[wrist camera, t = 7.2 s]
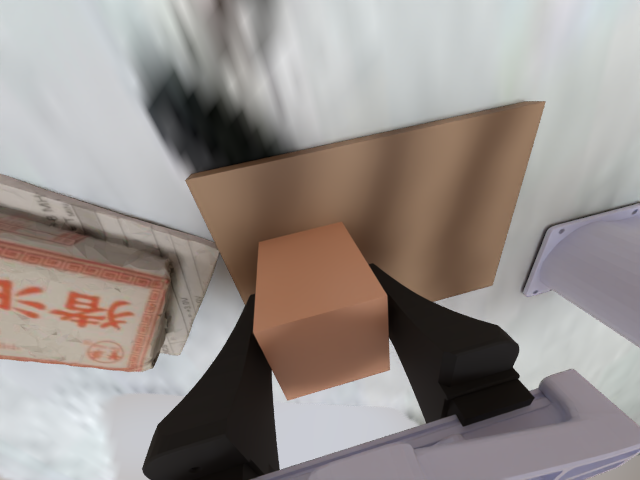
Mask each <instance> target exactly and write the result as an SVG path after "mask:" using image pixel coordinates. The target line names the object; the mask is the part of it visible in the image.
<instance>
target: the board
mask: <svg viewBox="0 0 640 480" xmlns="http://www.w3.org/2000/svg"><path fill="white" fill-rule="evenodd" d="M545 102H546V101H526V102H521V103H517V104H512V105H507V106H503V107H498V108H494V109H489V110H484V111H480V112H475V113H471V114H466V115H461V116H457V117H452V118H448V119H443V120H438V121H434V122H429V123H425V124H420V125H415V126H411V127H406V128H402V129H397V130H392V131H388V132H383V133H379V134H374V135H369V136H365V137H360V138H355V139H351V140H346V141H342V142H337V143H332V144H328V145H323V146H319V147H314V148H309V149H305V150H300V151H296V152H291V153H286V154H282V155H277V156H273V157H268V158H263V159H259V160H254V161H250V162H245V163H240V164H236V165H231V166H227V167H222V168H217V169H213V170H208V171H204V172H199V173H194V174H191V175H190V176H189V177H188V178H187V179H186V180H185V181H186V183H187V185H188V187H189V189H190V191H191V194H192V196H193V198H194V200H195V202H196V204H197V206H198V208H199V210H200V212H201V214H202V216H203V219H204V221H205V223H206V225H207V227H208V229H209V231H210V233H211V235H212V237H213V239H214V241H215V244H216V246H217V248H218V250H219V252H220V254H221V256H222V258H223V260H224V262H225V264H226V266H227V269H228V271H229V273H230V275H231V277H232V279H233V281H234V283H235V285H236V287H237V289H238V291H239V294H240V296H241V298H242V300H243V302H244V304H245V305H246V303H247V301H248V298H249V296H250V295H252V294H256V278H257V263H258V247H259V242H261V241H265V240H269V239H273V238H277V237H281V236H285V235H289V234H293V233H297V232H301V231H306V230H310V229H314V228H318V227H322V226H326V225H330V224H334V223H338V222H342V223H343V224H344V226H345V228H346V229H347V231H348V232H349V234H350V236H351V237H352V239H353V241H354V242H355V244H356V245H357V247H358V249H359V250H360V252H361V254H362V255H363V257H364V258H365V260H366V262H367V263H368V264H372V263H374V264H375V265H376V266H378V267H379V268H380V269H382V270H383V271H384V272H385V273H387V274H388V275H389V276H391V277H392V278H394V279H395V280H396V281H398V282H399V283H401V284H402V285H404V286H405V287H407V288H408V289H410V290H412V291H413V292H415V293H417V294H418V295H420V296H422V297H424V298H426V299H428V300H430V301H432V302H434V301H438V300H441V299H445V298H448V297H452V296H456V295H459V294H463V293H467V292H470V291H474V290H477V289H481V288H485V287H488V286H492V285H493V282H494V278H495V275H496V271H497V268H498V264H499V261H500V257H501V254H502V251H503V247H504V244H505V240H506V237H507V233H508V230H509V226H510V223H511V219H512V216H513V213H514V209H515V206H516V202H517V199H518V195H519V192H520V188H521V185H522V181H523V178H524V175H525V171H526V168H527V164H528V161H529V157H530V154H531V150H532V147H533V143H534V140H535V137H536V133H537V130H538V126H539V123H540V119H541V116H542V112H543V109H544V105H545Z"/></svg>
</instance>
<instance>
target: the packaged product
mask: <svg viewBox="0 0 640 480" xmlns="http://www.w3.org/2000/svg"><path fill="white" fill-rule="evenodd" d="M218 255H219V250H218V248H217V246H216V244H215V242H212V241H209V240H206V239H203V238H200V237H197V236H194V235H191V234H187V233H183V232H180V231H176V230H172V229H169V228H165V227H162V226H158V225H154V224H151V223H148V222H145V221H141V220H138V219H135V218H131V217H128V216H125V215H122V214H119V213H116V212H113V211H110V210H107V209H104V208H101V207H98V206H95V205H92V204H89V203H86V202H82V201H79V200H76V199H73V198H70V197H67V196H64V195H61V194H58V193H54V192H51V191H48V190H45V189H42V188H39V187H36V186H34V185H31V184H28V183H25V182H23V181H20V180H17V179H14V178H11V177H9V176H5V175H2V174H0V359H10V360H17V361H34V362H40V363H50V364H66V365H70V366H78V367H93V368H99V369H107V370H119V371H126V372H134V371H137V372H143V371H146V370H148V369H152V368H153V367H154V365H155V363H156V361H157V358H158V356H159V353H164V354H170V355H176V356H178V355H180V354H181V352H182V349H183V347H184V345H185V343H186V340H187V338H188V336H189V333H190V330H191V327H192V324H193V321H194V318H195V316H196V314H197V312H198V309H199V307H200V305H201V303H202V300H203V298H204V295H205V293H206V290H207V288H208V285H209V283H210V280H211V277H212V275H213V272H214V269H215V265H216V262H217V258H218Z"/></svg>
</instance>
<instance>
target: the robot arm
mask: <svg viewBox="0 0 640 480" xmlns="http://www.w3.org/2000/svg"><path fill="white" fill-rule="evenodd" d="M368 265H369V267H370V268H371V270H372V271H373V273H374V275H375V276H376V278H377V280H378V281H379V283H380V284H381V286H382V288H383V289H384V291H385V292H386V294H387V299H388V330H389V338H390V340H391V342H392V344H393V345H394V347H395V350H396V352H397V354H398V356H399V359H400V361H401V363H402V365H403V368H404V370H405V372H406V375H407V377H408V379H409V382H410V384H411V386H412V389H413V391H414V394H415V396H416V398H417V401H418V403H419V406H420V408H421V411H422V413H423V416H424V418H425V421H426V424H423V425H420V426H417V427H414V428H411V429H408V430H404V431H402V432H399V433H395V434H392V435H389V436H385V437H382V438H380V439H376V440H373V441H370V442H366V443H363V444H360V445H357V446H354V447H351V448H348V449H345V450H341V451H338V452H335V453H332V454H329V455H326V456H322V457H319V458H316V459H313V460H310V461H306V462H303V463H300V464H297V465H294V466H291V467H288V468H285V469H281V470H280V469H279V461H278V452H277V442H276V432H275V420H274V407H273V393H272V369H271V367H270V365H269V363H268V361H267V359H266V357H265V355H264V353H263V351H262V349H261V347H260V345H259V343H258V341H257V339H256V337H255V335H254V333H253V325H254V309H255V294H252V295H250V296H249V298H248V301H247V303H246V305H245V307H244V310H243V312H242V314H241V316H240V318H239V320H238V322H237V324H236V326H235V328H234V330H233V331H232V333H231V335H230V337H229V338H228V340H227V342H226V343H225V345H224V347H223V348H222V350H221V351H220V353H219V354H218V356H217V357H216V359H215V360H214V362H213V363H212V364H211V366H210V367H209V368H208V370H207V371H206V372H205V374H204V375H203V376H202V378H201V379H200V380H199V381H198V383H197V384H196V385H195V386H194V387H193V388H192V390H191V391H190V392H189V393H188V394H187V395H186V396H185V397H184V399H183V400H182V401H181V402H180V403H179V404H178V405H177V406H176V407H175V408H174V409H173V410H172V411H171V412H170V413H169V414H168V415H167V416H166V417H165V418H164V419H163V420H162V421H161V422H160V423H159V424H158V426H157V428H156V430H155V433H154V435H153V438H152V441H151V444H150V447H149V450H148V453H147V456H146V459H145V462H144V465H143V468H142V470H143V473H144V475H145V476H146V477H147V478H149V479H150V480H585V479H588V478H591V477H593V476H596V475H599V474H601V473H604V472H607V471H610V470H612V469H615V468H618V467H619V466H621V465H622V464H624V463H625V462H627V461H628V460H630V459H631V458H633V457H634V456H636V455H637V454H639V453H640V426H639V425H637V424H636V423H635V422H634V421H633V420H632V419H631V418H629V417H628V416H627V415H626V414H625V413H624V412H623V411H621V410H620V409H619V408H618V407H617V406H616V405H615V404H613V403H612V402H611V401H610V400H609V399H608V398H607V397H605V396H604V395H603V394H602V393H601V392H600V391H598V390H597V389H596V388H595V387H594V386H593V385H592V384H590V383H589V382H588V381H587V380H586V379H585V378H584V377H582V376H581V375H580V374H579V373H578V372H577V371H576V370H574V369H569V370H566V371H563V372H560V373H556V374H553V375H550V376H548V377H546V378H544V379H543V380H542V381H541V382H540V384H539V388H537V389H534V390H531V391H528V389H527V388H526V387H525V386H524V385H523V384H522V383H521V382H520V381H519V380H518V378H519V377H520V376H519V374H518V373H517V372H516V371H515V370H514V368H513V365H514V363H515V361H516V359H517V356H518V354H519V345H518V344H517V343H516V342H515V341H514V340H513V339H512V338H511V337H510V336H509V335H508V334H507V333H506V332H505V331H504V330H503V329H501V328H500V327H499V326H498V325H494V324H491V323H488V322H484V321H481V320H477V319H474V318H471V317H468V316H465V315H463V314H460V313H457V312H454V311H452V310H449V309H447V308H445V307H442V306H440V305H438V304H436V303H434V302H432V301H430V300H428V299H426V298H424V297H422V296H420V295H418V294H417V293H415V292H413V291H412V290H410V289H408V288H407V287H405V286H404V285H402V284H401V283H399V282H398V281H396V280H395V279H394V278H392V277H391V276H389V275H388V274H387V273H385V272H384V271H383V270H382V269H380V268H379V267H378V266H376V265H375V264H374V263H372V264H368ZM551 290H553V291H555V292H556V293H558V294H559V295H561V296H562V297H564V298H565V299H567V300H568V301H570V302H571V303H573V304H574V305H576V306H577V307H579V308H580V309H582V310H583V311H585V312H587V313H588V314H590V315H591V316H593V317H594V318H596V319H597V320H599V321H600V322H602V323H603V324H605V325H606V326H608V327H609V328H611V329H612V330H614V331H615V332H617V333H618V334H620V335H621V336H623V337H624V338H626V339H627V340H629V341H630V342H632V343H633V344H635V345H636V346H638V347H639V348H640V203H639V204H635V205H631V206H627V207H623V208H620V209H616V210H612V211H608V212H604V213H601V214H597V215H593V216H589V217H585V218H581V219H578V220H574V221H570V222H566V223H562V224H559V225H555V226H552V227H550V228H549V229H548V230H547V232H546V235H545V237H544V240H543V242H542V245H541V247H540V250H539V253H538V255H537V258H536V260H535V263H534V265H533V268H532V271H531V273H530V276H529V278H528V281H527V283H526V286H525V289H524V291H523V294H524V295H525V296H526V297H530V296H534V295H537V294H541V293H544V292H548V291H551Z"/></svg>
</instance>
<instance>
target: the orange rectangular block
mask: <svg viewBox="0 0 640 480" xmlns="http://www.w3.org/2000/svg"><path fill="white" fill-rule="evenodd" d="M253 333H254V335H255V337H256V339H257V341H258V343H259V345H260V347H261V349H262V351H263V353H264V355H265V357H266V359H267V361H268V363H269V365H270V367H271V369H272V371H273V373H274V375H275V377H276V379H277V381H278V383H279V385H280V387H281V389H282V391H283V393H284V395H285V396H286V398H287V400H291V399H294V398H298V397H301V396H304V395H308V394H311V393H315V392H318V391H321V390H325V389H328V388H331V387H335V386H338V385H341V384H345V383H348V382H351V381H355V380H358V379H361V378H365V377H368V376H372V375H375V374H378V373H382V372H385V371H388V370H390V360H389V330H388V299H387V294H386V292H385V291H384V289H383V288H382V286H381V284H380V283H379V281H378V280H377V278H376V276H375V275H374V273H373V271H372V270H371V268H370V267H369V265H368V263H367V262H366V260H365V258H364V257H363V255H362V254H361V252H360V250H359V249H358V247H357V245H356V244H355V242H354V241H353V239H352V237H351V236H350V234H349V232H348V231H347V229H346V228H345V226H344V224H343V223H342V222H338V223H334V224H330V225H326V226H322V227H318V228H314V229H310V230H306V231H301V232H297V233H293V234H289V235H285V236H281V237H277V238H273V239H269V240H265V241H261V242H259V247H258V263H257V278H256V294H255V309H254V325H253Z"/></svg>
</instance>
